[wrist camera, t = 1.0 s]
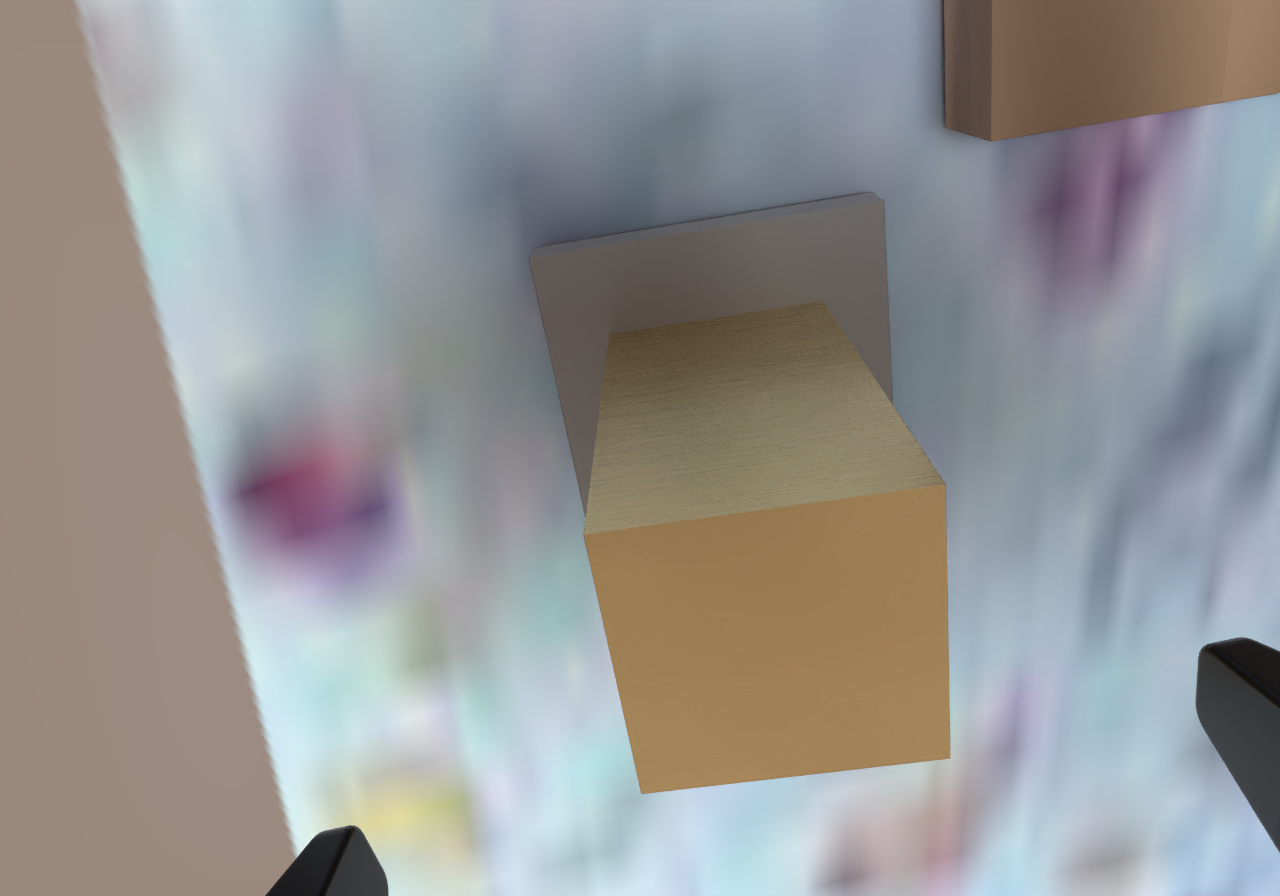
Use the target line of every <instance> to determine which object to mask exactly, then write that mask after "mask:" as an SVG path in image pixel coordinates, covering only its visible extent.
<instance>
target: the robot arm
mask: <svg viewBox="0 0 1280 896" xmlns="http://www.w3.org/2000/svg"><path fill="white" fill-rule="evenodd" d="M1196 710H1197V714H1198V718H1199V720H1200V723H1201V725H1202V727H1203V729H1204V730H1205V732H1206V734H1207V735H1208V737H1209V739H1210V740H1211V742H1212V743H1213V745H1214V747H1215V748H1216V750H1217V752H1218V753H1219V755H1220V757H1221V758H1222V760H1223V761H1224V763H1225V765H1226V766H1227V768H1228V770H1229V771H1230V773H1231V774H1232V776H1233V778H1234V779H1235V781H1236V783H1237V784H1238V786H1239V787H1240V789H1241V791H1242V792H1243V794H1244V796H1245V797H1246V799H1247V800H1248V802H1249V804H1250V805H1251V807H1252V809H1253V810H1254V812H1255V814H1256V815H1257V817H1258V818H1259V820H1260V822H1261V823H1262V825H1263V827H1264V828H1265V830H1266V831H1267V833H1268V835H1269V836H1270V838H1271V840H1272V841H1273V843H1274V844H1275V846H1276V848H1277V849H1278V851H1279V852H1280V651H1278V650H1276V649H1273V648H1271V647H1269V646H1266V645H1264V644H1262V643H1259V642H1257V641H1255V640H1252V639H1249V638H1234V639H1229V640H1224V641H1219V642H1215V643H1210V644H1207V645H1205V646H1203V647H1202V649H1201V650H1200V652H1199V657H1198V672H1197V687H1196ZM265 896H388V883H387V878H386V875H385V872H384V870H383V868H382V866H381V865H380V863H379V861H378V859H377V857H376V855H375V854H374V852H373V850H372V848H371V846H370V845H369V843H368V841H367V839H366V837H365V835H364V834H363V832H362V831H361V829H359V828H358V827H356V826H351V825H350V826H345V827H340V828H336V829H331V830H326V831H323V832H321V833H319V834H317V835H316V836H315V837H314V838H313V839H312V840H311V841H310V843H309V844H308V845H307V846H306V847H305V849H304V850H303V851H302V852H301V853H300V855H299V856H298V857H297V858H296V859H295V861H294V862H293V863H292V864H291V865H290V867H289V868H288V869H287V870H286V871H285V873H284V874H283V875H282V876H281V877H280V879H279V880H278V881H277V882H276V883H275V885H274V886H273V887H272V888H271V889H270V891H269V892H268V893H267V894H266V895H265Z"/></svg>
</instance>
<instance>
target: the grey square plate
mask: <svg viewBox="0 0 1280 896" xmlns="http://www.w3.org/2000/svg"><path fill="white" fill-rule="evenodd" d="M529 262H530V266H531V271H532V275H533V280H534V284H535V289H536V294H537V298H538V303H539V307H540V312H541V316H542V321H543V325H544V330H545V335H546V339H547V344H548V348H549V353H550V357H551V362H552V366H553V371H554V375H555V380H556V385H557V389H558V394H559V398H560V403H561V407H562V412H563V416H564V421H565V426H566V430H567V435H568V439H569V444H570V448H571V453H572V457H573V462H574V467H575V471H576V476H577V480H578V485H579V489H580V494H581V498H582V503H583V508H584V512H585V517H586V512H587V504H588V496H589V489H590V481H591V473H592V465H593V457H594V449H595V442H596V434H597V426H598V418H599V410H600V403H601V395H602V387H603V379H604V371H605V363H606V356H607V348H608V340H609V334H614V333H621V332H627V331H633V330H640V329H646V328H653V327H659V326H665V325H672V324H678V323H685V322H691V321H697V320H704V319H710V318H717V317H723V316H729V315H736V314H742V313H749V312H755V311H761V310H768V309H774V308H781V307H787V306H793V305H800V304H806V303H813V302H819V301H823V302H824V303H825V305H826V306H827V308H828V309H829V311H830V312H831V314H832V315H833V317H834V318H835V320H836V321H837V322H838V324H839V325H840V327H841V328H842V330H843V331H844V333H845V334H846V336H847V337H848V339H849V340H850V342H851V343H852V345H853V346H854V348H855V349H856V351H857V352H858V354H859V355H860V357H861V358H862V360H863V361H864V363H865V364H866V366H867V367H868V369H869V370H870V372H871V373H872V375H873V376H874V378H875V379H876V381H877V382H878V384H879V385H880V387H881V388H882V390H883V391H884V393H885V394H886V396H887V397H888V399H889V400H890V402H891V403H892V405H893V397H892V374H891V352H890V329H889V307H888V284H887V261H886V239H885V216H884V200H883V199H881V198H880V197H878V196H877V195H875V194H874V193H873V192H868V193H862V194H856V195H850V196H844V197H838V198H832V199H826V200H820V201H814V202H808V203H801V204H795V205H789V206H783V207H777V208H771V209H765V210H759V211H753V212H747V213H741V214H735V215H729V216H723V217H717V218H711V219H705V220H698V221H692V222H686V223H680V224H674V225H668V226H662V227H656V228H650V229H644V230H638V231H632V232H626V233H620V234H614V235H608V236H602V237H595V238H589V239H583V240H577V241H571V242H565V243H559V244H553V245H547V246H541V247H535V248H534V250H533V252H532V253H531V255H530V257H529Z"/></svg>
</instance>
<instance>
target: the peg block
mask: <svg viewBox="0 0 1280 896" xmlns="http://www.w3.org/2000/svg"><path fill="white" fill-rule="evenodd" d="M584 539H585V543H586V548H587V552H588V557H589V561H590V566H591V570H592V575H593V579H594V583H595V588H596V592H597V597H598V601H599V606H600V610H601V615H602V619H603V624H604V628H605V633H606V637H607V642H608V646H609V651H610V655H611V660H612V664H613V669H614V673H615V678H616V682H617V687H618V691H619V696H620V700H621V705H622V709H623V714H624V718H625V723H626V727H627V732H628V736H629V741H630V745H631V749H632V754H633V758H634V763H635V767H636V772H637V776H638V781H639V785H640V790H641V794H646V793H654V792H663V791H672V790H680V789H689V788H698V787H706V786H715V785H724V784H732V783H741V782H750V781H759V780H767V779H776V778H785V777H793V776H802V775H811V774H819V773H828V772H837V771H845V770H854V769H863V768H871V767H880V766H889V765H898V764H906V763H915V762H924V761H932V760H941V759H950V710H949V651H948V593H947V534H946V484H945V483H944V481H943V480H942V478H941V477H940V475H939V474H938V472H937V471H936V469H935V468H934V466H933V465H932V463H931V462H930V460H929V459H928V457H927V456H926V454H925V453H924V451H923V450H922V448H921V447H920V445H919V444H918V442H917V441H916V439H915V438H914V436H913V435H912V433H911V432H910V430H909V429H908V427H907V426H906V424H905V423H904V421H903V420H902V418H901V417H900V415H899V414H898V412H897V411H896V409H895V408H894V406H893V405H892V403H891V402H890V400H889V399H888V397H887V396H886V394H885V393H884V391H883V390H882V388H881V387H880V385H879V384H878V382H877V381H876V379H875V378H874V376H873V375H872V373H871V372H870V370H869V369H868V367H867V366H866V364H865V363H864V361H863V360H862V358H861V357H860V355H859V354H858V352H857V351H856V349H855V348H854V346H853V345H852V343H851V342H850V340H849V339H848V337H847V336H846V334H845V333H844V331H843V330H842V328H841V327H840V325H839V324H838V322H837V321H836V320H835V318H834V317H833V315H832V314H831V312H830V311H829V309H828V308H827V306H826V305H825V303H824V302H823V301H819V302H813V303H806V304H800V305H793V306H787V307H781V308H774V309H768V310H761V311H755V312H749V313H742V314H736V315H729V316H723V317H717V318H710V319H704V320H697V321H691V322H685V323H678V324H672V325H665V326H659V327H653V328H646V329H640V330H633V331H627V332H621V333H614V334H609V340H608V348H607V356H606V363H605V371H604V379H603V387H602V395H601V403H600V410H599V418H598V426H597V434H596V442H595V449H594V457H593V465H592V473H591V481H590V489H589V496H588V504H587V512H586V520H585V528H584Z"/></svg>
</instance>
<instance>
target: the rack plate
mask: <svg viewBox="0 0 1280 896" xmlns="http://www.w3.org/2000/svg"><path fill="white" fill-rule="evenodd" d="M944 36H945V106H946V128H949V129H952V130H955V131H959V132H962V133H965V134H969V135H972V136H975V137H979V138H982V139H985V140H988V141H996V140H1002V139H1008V138H1014V137H1020V136H1026V135H1032V134H1038V133H1044V132H1050V131H1056V130H1062V129H1068V128H1074V127H1080V126H1086V125H1092V124H1098V123H1104V122H1109V121H1115V120H1121V119H1127V118H1133V117H1139V116H1145V115H1151V114H1157V113H1163V112H1169V111H1175V110H1181V109H1187V108H1193V107H1199V106H1205V105H1211V104H1217V103H1223V102H1229V101H1235V100H1241V99H1247V98H1253V97H1259V96H1265V95H1270V94H1276V93H1280V0H944Z"/></svg>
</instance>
